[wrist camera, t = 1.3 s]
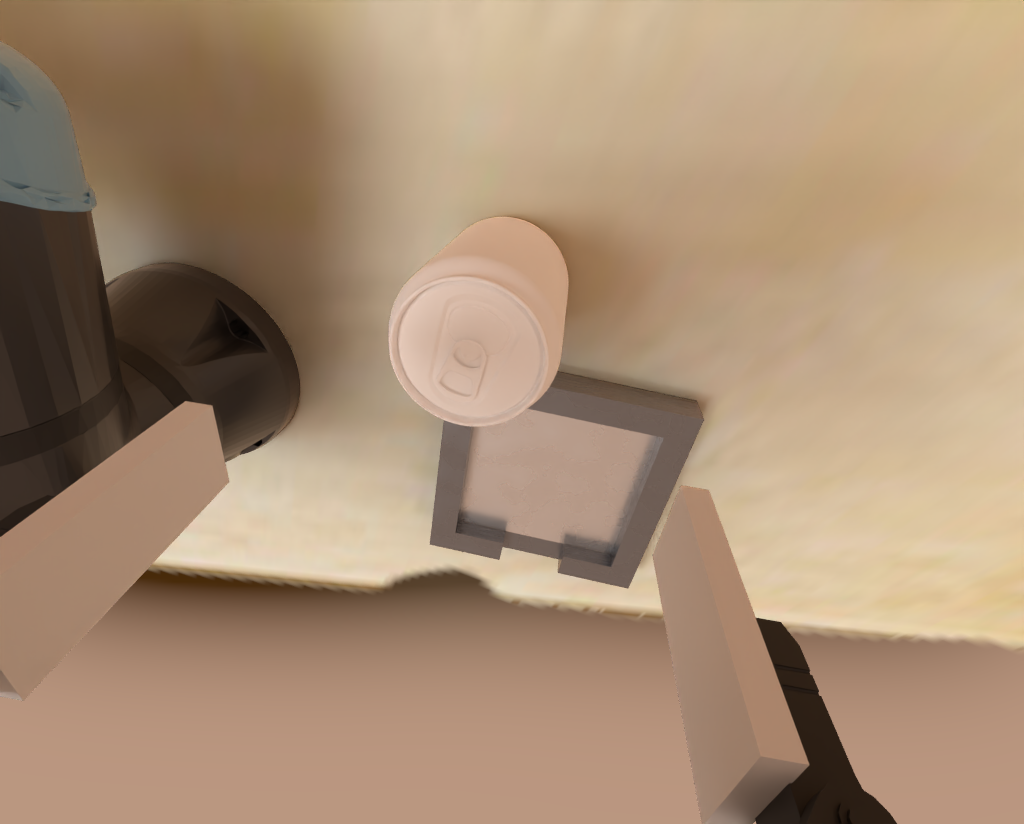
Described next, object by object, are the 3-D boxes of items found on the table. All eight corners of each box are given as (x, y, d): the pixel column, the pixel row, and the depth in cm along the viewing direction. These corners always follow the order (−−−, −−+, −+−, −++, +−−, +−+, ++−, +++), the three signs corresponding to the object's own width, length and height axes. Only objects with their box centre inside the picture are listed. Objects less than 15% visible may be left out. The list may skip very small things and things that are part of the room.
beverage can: (591, 248, 30) (594, 314, 20) (537, 358, 34) (516, 459, 24) (468, 191, 29) (405, 229, 19) (429, 310, 33) (359, 394, 23)
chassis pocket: (437, 523, 43) (429, 544, 41) (458, 350, 34) (450, 365, 32) (626, 565, 43) (628, 588, 41) (696, 400, 34) (703, 419, 32)
